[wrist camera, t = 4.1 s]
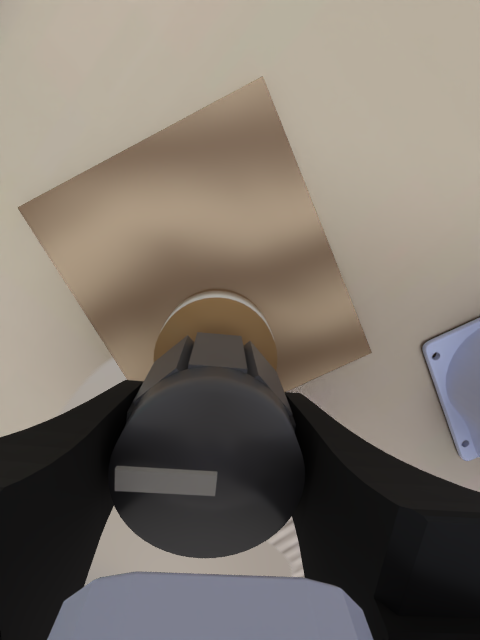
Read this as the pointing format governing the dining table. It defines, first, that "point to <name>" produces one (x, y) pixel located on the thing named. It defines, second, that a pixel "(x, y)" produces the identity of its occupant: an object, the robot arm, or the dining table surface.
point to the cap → (208, 451)
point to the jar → (217, 322)
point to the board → (202, 238)
